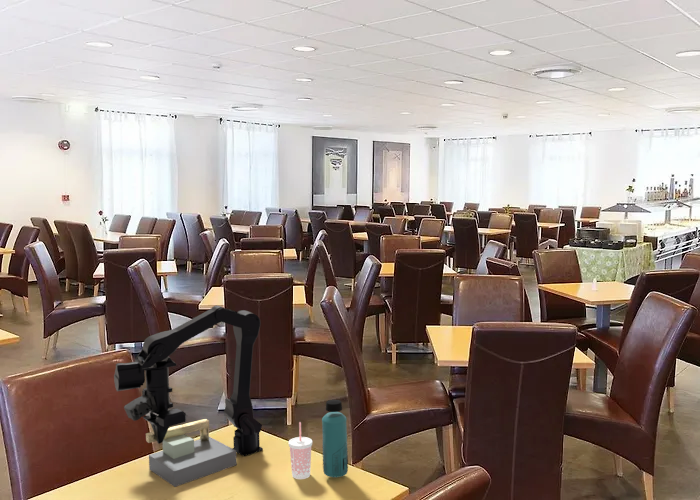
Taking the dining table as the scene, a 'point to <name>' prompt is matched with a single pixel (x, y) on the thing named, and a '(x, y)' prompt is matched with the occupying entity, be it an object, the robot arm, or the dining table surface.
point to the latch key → (184, 430)
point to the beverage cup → (300, 456)
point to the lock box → (193, 462)
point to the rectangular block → (178, 446)
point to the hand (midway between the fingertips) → (159, 443)
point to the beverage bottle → (334, 440)
